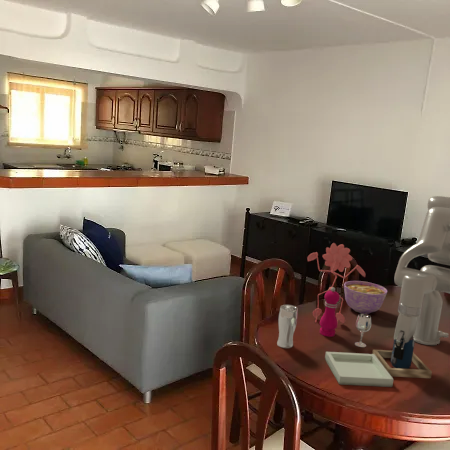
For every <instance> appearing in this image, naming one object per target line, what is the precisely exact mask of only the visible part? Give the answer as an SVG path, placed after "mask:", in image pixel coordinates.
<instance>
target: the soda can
mask: <svg viewBox="0 0 450 450" xmlns="http://www.w3.org/2000/svg"><path fill="white" fill-rule="evenodd" d="M401 340H403V339H401ZM395 343H396V340H394V339H393V345H392V350H391V351H392V356H391V358H390V364H391V366H392V368H401V369H411V366H412V363H413V362H412V356H413V353H414V349H415V343H416V342H415V341H414V337H412V338H411V339H410V340H409V342H407V343H405V346H404V355H403V359H402V360H400V359H397V358H394V357H393V355H394V349H395ZM401 343H402V342H401ZM402 344H403V343H402Z"/></svg>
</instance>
